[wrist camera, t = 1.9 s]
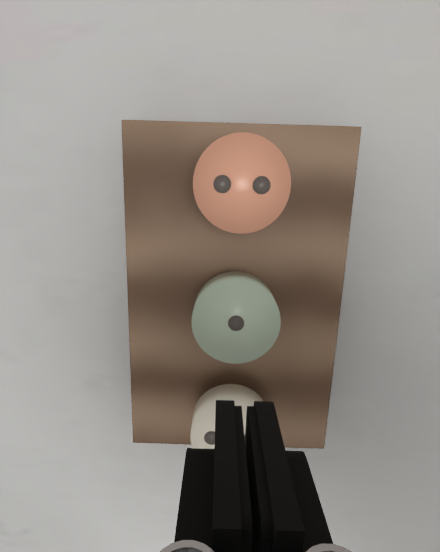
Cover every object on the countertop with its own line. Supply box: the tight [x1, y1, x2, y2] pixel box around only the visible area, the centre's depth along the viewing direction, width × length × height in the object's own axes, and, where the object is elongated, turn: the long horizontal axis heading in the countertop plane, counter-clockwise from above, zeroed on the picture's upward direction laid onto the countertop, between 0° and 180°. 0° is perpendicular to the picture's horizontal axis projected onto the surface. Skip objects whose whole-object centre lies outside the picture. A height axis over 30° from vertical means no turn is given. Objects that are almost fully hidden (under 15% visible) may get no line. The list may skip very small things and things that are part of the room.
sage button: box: [191, 271, 281, 364], centre depth 21 cm, size 5×5×2 cm
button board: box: [122, 120, 361, 449], centre depth 25 cm, size 22×14×3 cm, turn 178°
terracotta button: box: [193, 132, 291, 234], centre depth 19 cm, size 5×5×2 cm
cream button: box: [190, 384, 263, 449], centre depth 23 cm, size 5×5×2 cm
